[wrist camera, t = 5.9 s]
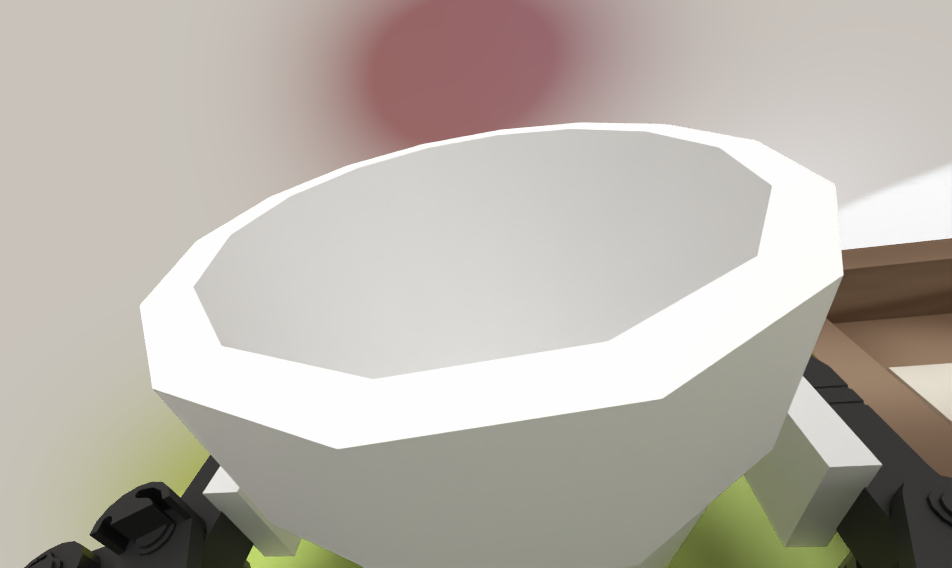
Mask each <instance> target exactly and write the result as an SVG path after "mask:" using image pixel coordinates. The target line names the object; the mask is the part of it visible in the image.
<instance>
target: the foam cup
mask: <svg viewBox="0 0 952 568" xmlns="http://www.w3.org/2000/svg"><path fill="white" fill-rule="evenodd" d="M842 277H843V263H842V252H841V241H840V229H839V218H838V207H837V195H836V185H835V184H834V183H832V182H830V181H828V180H826V179H825V178H823V177H821V176H819V175H818V174H816V173H814V172H812V171H810V170H809V169H807V168H805V167H803V166H801V165H800V164H798V163H796V162H794V161H792V160H791V159H788V158H787V157H785V156H783V155H782V154H779V153H778V152H776V151H774V150H773V149H771V148H769V147H767V146H765V145H764V144H762V143H760V142H758V141H756V140H750V139H745V138H739V137H734V136H728V135H723V134H718V133H712V132H706V131H701V130H695V129H690V128H685V127H679V126H673V125H668V124H629V123H628V124H627V123H571V124H560V125H549V126H537V127H527V128H515V129H504V130H497V131H492V132H487V133H481V134H475V135H470V136H465V137H459V138H454V139H448V140H443V141H438V142H432V143H427V144H422V145H419V146H415V147H412V148H408V149H405V150H401V151H397V152H394V153H390V154H387V155H383V156H380V157H376V158H372V159H369V160H365V161H362V162H358V163H355V164H351V165H348V166H345V167H343V168H340V169H338V170H335V171H333V172H331V173H328V174H325V175H323V176H320V177H318V178H315V179H313V180H310V181H308V182H305V183H303V184H301V185H298V186H296V187H293V188H291V189H288V190H286V191H283V192H281V193H278V194H276V195H273V196H271V197H269V198H268V199H266V200H264V201H263V202H261V203H259V204H257V205H256V206H254V207H253V208H251V209H249V210H247V211H246V212H244V213H242V214H241V215H239V216H237V217H236V218H234V219H232V220H231V221H229V222H227V223H226V224H224V225H223V226H221V227H219V228H218V229H216V230H214V231H212V232H211V233H209V234H207V235H206V236H204V237H203V238H201V239H199V240H197V241H196V242H195V243H194V244H193V246H192V247H191V248H190V249H189V250H188V251H187V252H186V253H185V255H184V256H183V257H182V258H181V259H180V260H179V261H178V263H177V264H176V265H175V266H174V267H173V268H172V269H171V270H170V272H169V273H168V274H167V275H166V276H165V277H164V278H163V279H162V281H161V282H160V283H159V284H158V285H157V287H156V288H155V289H154V290H153V291H152V292H151V293H150V294H149V296H147V298H146V299H145V300H144V301H143V302H142V303H141V304H140V311H141V317H142V323H143V330H144V337H145V343H146V349H147V355H148V362H149V369H150V375H151V381H152V388H153V390H154V391H155V392H156V393H157V394H158V395H159V396H160V397H161V399H162V400H163V401H164V402H165V403H166V404H167V406H168V407H169V408H170V409H171V410H172V411H173V412H174V413H175V415H176V416H177V417H178V418H179V419H180V420H181V421H182V423H183V424H184V425H185V426H186V427H187V428H188V429H189V430H190V432H191V433H192V434H193V435H194V436H195V437H196V438H197V440H198V441H199V442H200V443H201V444H202V445H203V446H204V448H205V449H206V450H207V451H208V452H209V453H210V454H211V455H212V457H213V458H214V459H215V460H216V461H217V462H218V463H219V465H220V466H221V467H222V468H223V469H224V470H225V471H226V473H227V474H228V475H229V476H230V477H231V478H232V479H233V480H234V482H235V483H236V484H237V485H238V486H239V487H240V488H241V490H242V491H243V492H244V493H245V494H246V495H247V496H248V498H249V499H250V500H251V501H252V502H253V503H254V504H255V505H256V507H257V508H258V509H259V510H260V511H261V512H262V513H263V515H264V516H265V517H266V518H267V519H268V520H269V521H270V523H271V524H273V525H276V526H278V527H280V528H282V529H284V530H286V531H288V532H290V533H293V534H295V535H297V536H299V537H301V538H303V539H305V540H307V541H309V542H312V543H314V544H316V545H318V546H320V547H322V548H324V549H326V550H329V551H331V552H333V553H335V554H337V555H339V556H341V557H343V558H345V559H348V560H350V561H352V562H354V563H356V564H358V565H360V566H361V567H363V568H666V567H667V566H668V564H669V563H670V562H671V560H672V559H673V557H674V556H675V554H676V553H677V551H678V550H679V548H680V547H681V545H682V544H683V542H684V541H685V539H686V538H687V536H688V535H689V533H690V532H691V530H692V529H693V527H694V526H695V524H696V523H697V521H698V520H699V518H700V517H701V515H702V514H703V512H704V511H705V509H706V508H707V506H708V505H709V504H710V503H711V502H712V501H713V500H714V499H716V498H717V497H718V496H719V495H720V494H721V493H722V492H724V491H725V490H726V489H727V488H728V487H729V486H731V485H732V484H733V483H734V482H735V481H736V480H737V479H739V478H740V477H741V476H742V475H743V474H744V473H746V472H747V471H748V470H749V469H750V468H751V467H753V466H754V465H755V464H756V463H757V462H758V461H759V460H761V459H762V458H763V457H764V456H765V455H766V454H768V453H769V452H770V451H771V450H772V449H773V447H774V445H775V442H776V440H777V437H778V435H779V433H780V430H781V428H782V425H783V423H784V420H785V418H786V415H787V413H788V410H789V408H790V405H791V403H792V400H793V398H794V396H795V393H796V391H797V388H798V386H799V383H800V381H801V378H802V376H803V373H804V371H805V368H806V366H807V364H808V361H809V359H810V356H811V354H812V351H813V349H814V346H815V344H816V341H817V339H818V336H819V334H820V332H821V329H822V327H823V324H824V322H825V319H826V317H827V314H828V312H829V309H830V307H831V304H832V302H833V300H834V297H835V295H836V292H837V290H838V287H839V285H840V282H841V280H842Z"/></svg>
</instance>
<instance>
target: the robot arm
mask: <svg viewBox="0 0 952 568" xmlns="http://www.w3.org/2000/svg"><path fill="white" fill-rule="evenodd" d="M744 476H745V478H746V480H747V481H748V483H749V485H750V487H751V489H752V490H753V492H754V494H755V496H756V498H757V499H758V501H759V503H760V505H761V506H762V508H763V510H764V512H765V514H766V515H767V517H768V519H769V521H770V523H771V524H772V526H773V528H774V530H775V532H776V533H777V535H778V537H779V539H780V540H781V542H782V544H783V546H784V547H823V546H827V545H828V544H829V542H830V541H831V539H832V538H833V536H834V535H835V533H836V532H838V533H839V535H840V536H841V538H842V539H843V541H844V542H845V544H846V545H847V546H848V548H849V549H850V553H849V554H848V555H847V556H846V558H845V559H844V560H843V562H842V563H841V564H840V566H839V567H838V568H952V478H951V477H946V476H942V475H939V474H938V473H937V472H936V471H935V470H933V469H932V468H931V467H930V466H929V465H928V464H927V463H926V462H925V461H924V460H923V459H922V458H921V457H920V456H919V455H918V454H917V453H916V452H915V451H914V450H913V449H912V448H911V447H910V446H909V445H908V444H907V443H906V442H905V441H904V440H903V439H902V438H901V437H900V436H899V435H898V434H897V433H896V432H895V431H894V430H893V429H892V428H891V427H890V426H889V425H888V424H887V423H886V422H885V421H884V420H883V419H882V418H881V417H880V416H879V415H878V414H877V413H876V412H875V411H874V410H873V409H872V408H871V407H870V406H869V405H865V404H864V400H863V399H862V398H861V397H860V396H859V395H858V394H857V393H856V392H855V391H854V390H853V389H849V388H848V384H847V383H846V382H845V381H844V380H843V379H842V378H841V377H840V376H839V375H838V374H837V373H836V372H835V371H834V370H833V369H832V368H831V367H830V366H828V365H827V364H825V363H823V362H821V361H820V360H818V359H816V358H815V357H813V356H810V359H809V361H808V364H807V366H806V368H805V371H804V373H803V376H802V378H801V381H800V383H799V386H798V388H797V391H796V393H795V396H794V398H793V400H792V403H791V405H790V408H789V410H788V413H787V415H786V418H785V420H784V423H783V425H782V428H781V430H780V433H779V435H778V437H777V440H776V442H775V445H774V447H773V449H772V450H771V451H770V452H769V453H768V454H766V455H765V456H764V457H763V458H762V459H761V460H759V461H758V462H757V463H756V464H755V465H754V466H753V467H751V468H750V469H749V470H748V471H747V472H746V473H744ZM90 536H92V537H93V538H94V539H96V540H97V541H99V542H100V543H101V544H103V545H104V546H105V547H102V548H99V549H97V550H94V551H90V550H88V549H87V548H85V547H84V546H82V545H81V544H79V543H77V542H75V541H73V542H66V543H62V544H60V545H57V546H55V547H53V548H51V549H49V550H47V551H46V552H44V553H43V554H41V555H40V556H38V557H37V558H35V559H34V560H32V561H31V562H30V563H29V564H28V565H27V566H26V567H24V568H251V567H250V563H249V562H248V561H247V560H246V559H247V557H248V555H249V553H250V551H251V548H252V546H253V545H254V546H255V547H256V548H257V549H258V550H259V551H260V552H261V553H262V554H263V555H264V556H295V553H296V551H297V548H298V546H299V543H300V541H301V537H299V536H297V535H295V534H293V533H290V532H288V531H286V530H284V529H282V528H280V527H278V526H276V525H273V524H271V523H270V521H269V520H268V519H267V518H266V517H265V516H264V515H263V513H262V512H261V511H260V510H259V509H258V508H257V507H256V505H255V504H254V503H253V502H252V501H251V500H250V499H249V498H248V496H247V495H246V494H245V493H244V492H243V491H242V490H241V488H240V487H239V486H238V485H237V484H236V483H235V482H234V480H233V479H232V478H231V477H230V476H229V475H228V474H227V473H226V471H225V470H224V469H223V468H222V467H221V466H220V465H219V463H218V462H217V461H216V460H215V459H214V458H213V457H212V455H210V456H209V458H208V459H207V461H206V462H205V463H204V465H203V466H202V468H201V469H200V471H199V472H198V474H197V475H196V476H195V478H194V479H193V481H192V482H191V484H190V485H189V487H188V488H187V489H186V491H185V492H184V494H183V495H182V497H181V498H180V497H179V496H178V495H177V494H176V493H175V492H174V491H173V490H171V489H170V488H169V487H168V486H167V485H165V484H164V483H163V482H150V483H147V484H144V485H141V486H138V487H137V488H135V489H133V490H132V491H130V492H128V493H126V494H125V495H123V496H122V497H121V498H120V499H118V500H117V501H116V502H115V503H114V504H113V505H111V506H110V507H109V508H108V509H107V510H106V511H105V512H104V514H103V515H102V516H101V517H100V518H99V519H98V521H97V522H96V524H95V526H94V527H93V530H92V531H91V533H90Z"/></svg>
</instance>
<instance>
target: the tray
mask: <svg viewBox="0 0 952 568" xmlns="http://www.w3.org/2000/svg"><path fill="white" fill-rule="evenodd" d="M841 252H842V263H843V277H842V280H841V282H840V285H839V287H838V290H837V292H836V295H835V297H834V300H833V302H832V304H831V307H830V309H829V312H828V314H827V317H826V319H825V322H824V324H823V327H822V329H821V332H820V334H819V336H818V339H817V341H816V344H815V346H814V349H813V351H812V354H811V356H813V357H815V358H816V359H818V360H820V361H821V362H823V363H825V364H827V365H828V366H830V367H831V368H832V369H833V370H834V371H835V372H836V373H837V374H838V375H839V376H840V377H841V378H842V379H843V380H844V381H845V382H846V383H847V384H848V388H849V389H853V390H854V391H855V392H856V393H857V394H858V395H859V396H860V397H861V398H862V399H863V400H864V404H865V405H869V406H870V407H871V408H872V409H873V410H874V411H875V412H876V413H877V414H878V415H879V416H880V417H881V418H882V419H883V420H884V421H885V422H886V423H887V424H888V425H889V426H890V427H891V428H892V429H893V430H894V431H895V432H896V433H897V434H898V435H899V436H900V437H901V438H902V439H903V440H904V441H905V442H906V443H907V444H908V445H909V446H910V447H911V448H912V449H913V450H914V451H915V452H916V453H917V454H918V455H919V456H920V457H921V458H922V459H923V460H924V461H925V462H926V463H927V464H928V465H929V466H930V467H931V468H932V469H933V470H935V471H936V472H937V473H938V474H939V475H942V476H946V477H951V478H952V238H951V239H941V240H932V241H923V242H914V243H904V244H895V245H886V246H877V247H867V248H858V249H849V250H841Z"/></svg>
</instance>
